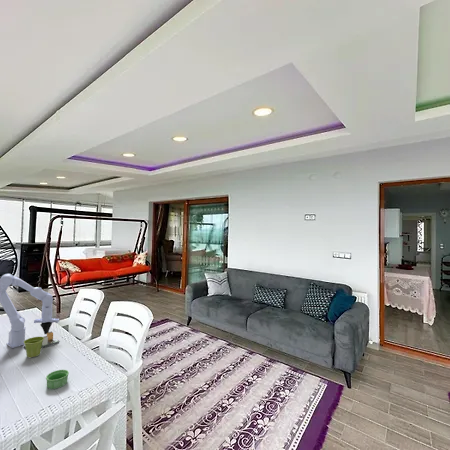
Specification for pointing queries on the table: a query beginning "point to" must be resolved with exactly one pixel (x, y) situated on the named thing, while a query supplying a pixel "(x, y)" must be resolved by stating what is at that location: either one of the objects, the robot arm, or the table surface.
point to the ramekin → (57, 379)
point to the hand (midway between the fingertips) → (46, 333)
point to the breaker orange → (50, 335)
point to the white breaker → (45, 340)
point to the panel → (49, 343)
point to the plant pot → (33, 346)
